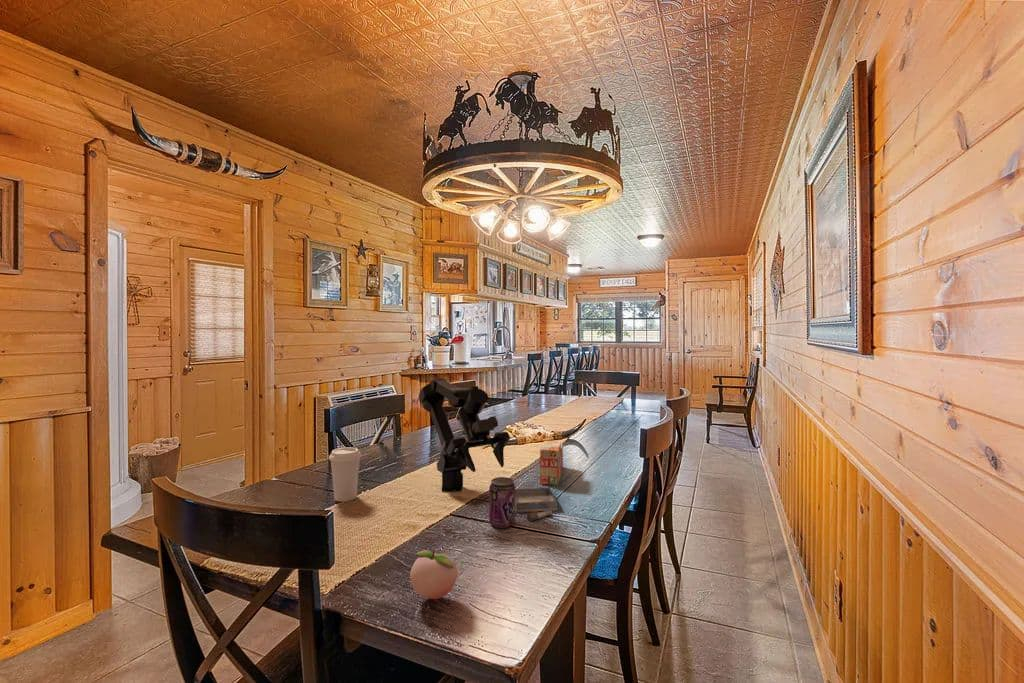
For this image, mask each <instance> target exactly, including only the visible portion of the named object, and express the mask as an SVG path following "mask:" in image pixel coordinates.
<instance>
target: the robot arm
mask: <svg viewBox="0 0 1024 683" xmlns="http://www.w3.org/2000/svg"><path fill="white" fill-rule="evenodd" d="M445 398H446V399H447V400H448V401H447V403H448V405H450V407H451V408H453V409H459V410H458V412H457V416H456V421H460V423H461V427H462V429H463V431H462V435H463V436H462V437H455V435H454V433H453V431H452V427H451V426H450V422H449V420H448V417H447V415H446V412H445V409H444V407H443V405H444V403H445ZM418 400H419V403H420V404H421V406H422V408H423V409H424V410H425V411H427V412H428V413H429V415H430V417H431V420H432V423H433V425H434V428H435V430H436V434H437V437H438V439H439V442H440V445H441V450H440V453H439V459H438V461H437V462H436V469H437V471H438V472H439V473H441V492H461V491H462V488H463V487H464V473H463V472H462V470H463V471H465V470H467V469H469V470H470V471H471V472H472V473H475V472H476V470H477V469H476V466H475V463H474V461H473V459H472V456H471V453H470V449H471V448H477V447H478V448H479V447H483V446H484V447H485V446H491V448H492V449H493V450H492V453H493V456H494V457H495V459H496V460H497V462H498V464H499V466H500V467H501V468H503V467H504V466H505V462H504V461H505V459H504V458H505V456H504V451H505V450H504V449H505V447H506V446H507V444H508V443H509V441H510V439H511V436H510V433H509V432H508V431H501V432H500V431H499V432H495V433H494V435H493V436H492V437H489V436H490V434H491V431H494V430H495V428H497V427H498V426H499V421H498V418H496V416H495V415H494V416H490V417H489V418H486V419H480V417H479V414H481V413H482V411H483V410H484V408H485V406H486V404H487V403H488V401H489V394H488V393H487V392H486V391H485V390H483V389H482V388H479V386H478V385H476V386H475V385H474V386H471V388H467V387H458V386H457V385H454V384H453V383H451V382H449V381H448V380H447V379H446V378H433V379H431V380H430V381H429V383H428V384H426V385H425V386H423V387H422V388H421V390H420V391H419V394H418ZM464 436H465V437H464ZM488 437H489V438H488Z"/></svg>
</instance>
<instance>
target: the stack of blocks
mask: <svg viewBox="0 0 1024 683" xmlns="http://www.w3.org/2000/svg"><path fill="white" fill-rule="evenodd" d="M563 444H564V443H562V441H561V440H560V441H559V440H558V441H557V440H544V441H543V443H542V446H541V447H540V449H539V470H540V471H539V472H540V473H539V484H540V485H546V484H553V485H552V486H558V485H559V483H560V481H561V480H560V479H561V475H562V472H563V468H564V451H563V446H564V445H563ZM561 471H562V472H561ZM558 482H559V483H558Z"/></svg>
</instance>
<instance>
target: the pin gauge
mask: <svg viewBox="0 0 1024 683" xmlns="http://www.w3.org/2000/svg"><path fill="white" fill-rule="evenodd" d="M552 514H553V510H547V511H539V512H537V511H532V512H530V513H527V514H526V520H527V521H528V522H533V521H536V520H538V519H542V518H545V517H549V516H551V515H552Z"/></svg>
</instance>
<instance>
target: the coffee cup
mask: <svg viewBox="0 0 1024 683" xmlns="http://www.w3.org/2000/svg"><path fill="white" fill-rule="evenodd" d="M361 458H362V454H361V452H360V450H359V449H358V448H357V447H353V446H351V447H349V446H348V447H340V448H339V447H338V448H335V449H332V451H331V453H330V454H329V457H328V460H329V461H330V465H331V476H332V478H331V479H332V486H333V487H332V488H333V498H334V500H335V501H336V502H342V503H344V502H349V501H350V500H351V501H353V500H355V499H356V498H357V494H358V481H359V472H360V471H359V470H360V459H361Z"/></svg>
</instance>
